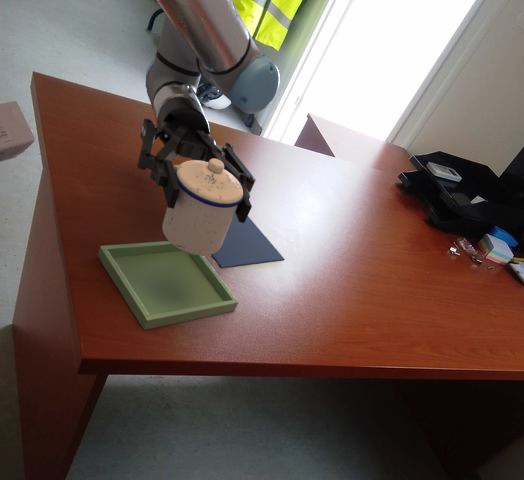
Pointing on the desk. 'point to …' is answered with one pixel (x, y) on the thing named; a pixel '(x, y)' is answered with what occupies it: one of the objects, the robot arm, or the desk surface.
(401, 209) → the desk surface
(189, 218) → the teacup with lid
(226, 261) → the mat
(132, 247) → the tray
